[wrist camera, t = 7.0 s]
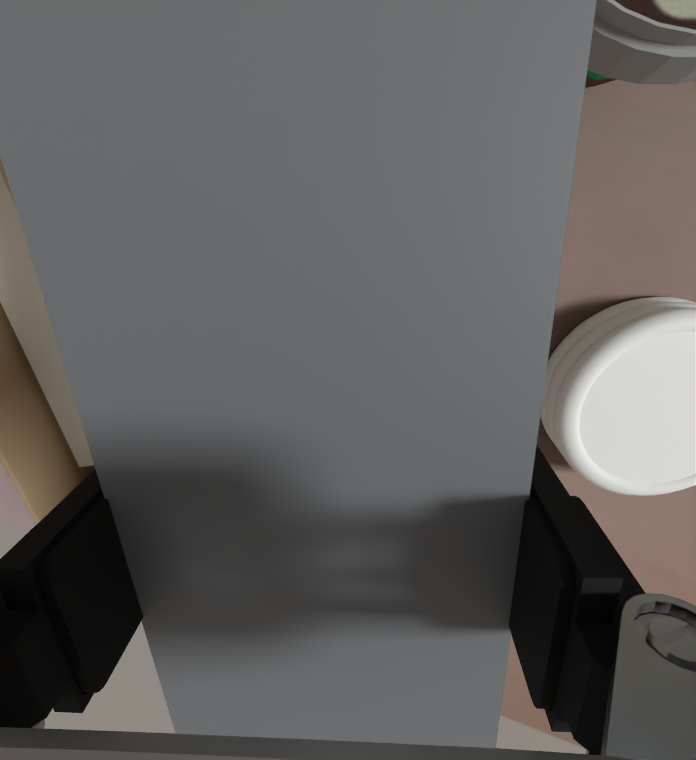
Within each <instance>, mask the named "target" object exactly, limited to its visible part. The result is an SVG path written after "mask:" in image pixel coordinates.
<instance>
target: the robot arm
mask: <svg viewBox="0 0 696 760" xmlns="http://www.w3.org/2000/svg"><path fill="white" fill-rule="evenodd" d="M142 618H143V614H142V611H141V608H140V604H139V601H138V598H137V594H136V591H135V588H134V584H133V581H132V578H131V574H130V571H129V568H128V564H127V561H126V558H125V554H124V551H123V548H122V544H121V541H120V538H119V534H118V531H117V528H116V524H115V521H114V518H113V514H112V511H111V508H110V504H109V501H108V499H104V496H103V492H102V489H101V486H100V482H99V479H98V476H97V473H96V469H94V470H93V471H92V472H91V473H90V474H89V475H88V476H87V477H86V478H85V479H84V480H83V481H82V482H81V483H80V484H79V485H78V486H77V487H76V488H75V489H73V490H72V491H71V492H70V493H69V494H68V495H67V496H66V497H65V498H64V499H63V500H62V501H61V502H60V503H59V504H58V505H57V506H56V507H55V508H54V509H52V510H51V511H50V512H49V513H48V514H47V515H46V516H45V517H44V518H43V519H42V520H41V521H40V522H39V523H38V524H37V525H36V526H35V527H34V528H33V529H31V530H30V531H29V533H28V534H26V535H25V536H24V537H23V538H22V539H21V540H20V541H19V542H18V543H17V544H16V545H15V546H14V547H13V548H12V549H11V550H9V551H8V552H7V553H6V554H5V555H4V556H3V557H2V558H1V559H0V760H696V606H695V605H692V604H690V603H688V602H686V601H684V600H681V599H679V598H675V597H671V596H667V595H664V594H651V593H645V592H644V590H643V589H642V588H641V586H640V585H639V583H638V582H637V580H636V579H635V577H634V576H633V574H632V573H631V571H630V570H629V569H628V567H627V566H626V564H625V563H624V561H623V560H622V558H621V557H620V555H619V554H618V552H617V551H616V550H615V548H614V547H613V545H612V544H611V542H610V541H609V539H608V538H607V536H606V535H605V533H604V532H603V530H602V529H601V528H600V526H599V525H598V523H597V522H596V520H595V519H594V517H593V516H592V514H591V513H590V511H589V510H588V509H587V507H586V506H585V504H584V503H583V502H582V500H581V499H580V498H579V497H576V496H570V495H569V494H568V492H567V491H566V489H565V488H564V486H563V485H562V483H561V481H560V480H559V478H558V477H557V475H556V474H555V472H554V471H553V469H552V468H551V466H550V465H549V463H548V462H547V460H546V458H545V457H544V455H543V454H542V452H541V451H540V449H539V448H538V446H537V445H536V452H535V460H534V467H533V474H532V482H531V489H530V497H529V500H525V505H524V513H523V520H522V528H521V535H520V543H519V551H518V558H517V566H516V574H515V581H514V589H513V596H512V604H511V612H510V619H509V628H510V631H511V634H512V637H513V641H514V644H515V647H516V650H517V654H518V657H519V660H520V663H521V666H522V670H523V673H524V676H525V679H526V683H527V686H528V689H529V692H530V696H531V699H532V701H533V704H534V706H535V707H536V708H540V709H545V712H546V715H547V718H548V721H549V724H550V727H551V730H552V731H555V732H571V733H572V735H573V738H574V740H576V741H577V742H578V743H579V744H581V745H582V746H583V747H584V748H585V749H587V752H586V754H573V753H572V754H571V753H558V752H557V753H556V752H543V751H529V750H514V749H499V748H479V747H458V746H437V745H417V744H396V743H375V742H355V741H334V740H312V739H289V738H265V737H242V736H219V735H195V734H169V733H145V732H121V731H120V732H118V731H91V730H64V729H44V725H45V718H47V716H48V714H49V713H50V711H51V709H52V708H54V711H55V712H72V713H83V711H84V710H85V708H86V706H87V704H88V703H89V701H90V699H91V697H92V696H93V694H94V693H97V692H99V691H100V690H101V689H102V688H103V687H104V686H105V684H106V683H107V681H108V679H109V677H110V675H111V674H112V672H113V670H114V668H115V666H116V665H117V663H118V661H119V659H120V658H121V656H122V654H123V652H124V650H125V649H126V647H127V645H128V643H129V642H130V640H131V638H132V636H133V634H134V633H135V631H136V629H137V627H138V625H139V624H140V622H141V620H142Z"/></svg>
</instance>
